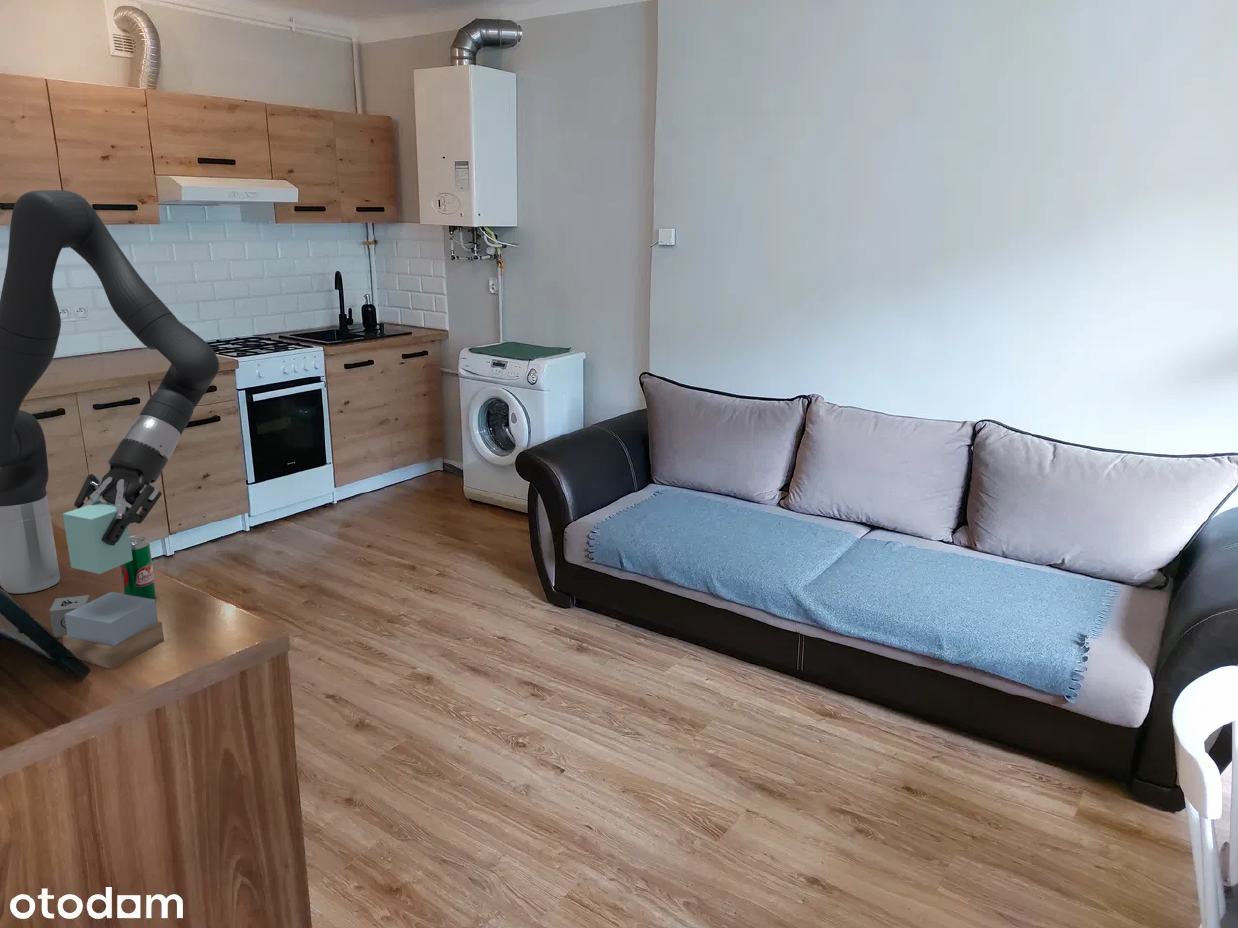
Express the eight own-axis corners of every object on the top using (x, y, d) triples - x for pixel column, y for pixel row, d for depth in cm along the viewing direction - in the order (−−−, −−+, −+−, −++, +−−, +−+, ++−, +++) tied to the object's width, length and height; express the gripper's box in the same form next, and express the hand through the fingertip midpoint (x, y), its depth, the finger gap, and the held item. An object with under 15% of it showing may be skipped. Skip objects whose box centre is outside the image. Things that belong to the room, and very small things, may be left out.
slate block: (67, 637, 136) (64, 614, 135) (113, 613, 145) (110, 591, 144) (113, 646, 134) (110, 623, 133) (157, 621, 143) (154, 599, 141)
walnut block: (65, 658, 138) (62, 636, 137) (120, 632, 147) (117, 611, 146) (112, 671, 134) (108, 648, 133) (164, 643, 144) (161, 622, 142)
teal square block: (71, 567, 134) (62, 513, 132) (105, 554, 140) (97, 502, 137) (99, 573, 132) (91, 519, 130) (132, 560, 138) (125, 507, 135)
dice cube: (60, 624, 148) (55, 598, 146) (93, 621, 149) (89, 594, 148) (53, 638, 143) (49, 611, 142) (87, 633, 145) (83, 607, 144)
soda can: (143, 608, 154) (134, 546, 151) (118, 604, 155) (110, 543, 152) (162, 596, 159) (155, 536, 156) (139, 593, 160) (131, 533, 157)
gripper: (97, 432, 140) (39, 522, 133) (164, 442, 136) (108, 537, 128) (129, 455, 146) (75, 542, 139) (194, 465, 142) (142, 557, 135)
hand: (91, 539), depth 134 cm, fingers closed on teal square block, 6 cm apart
